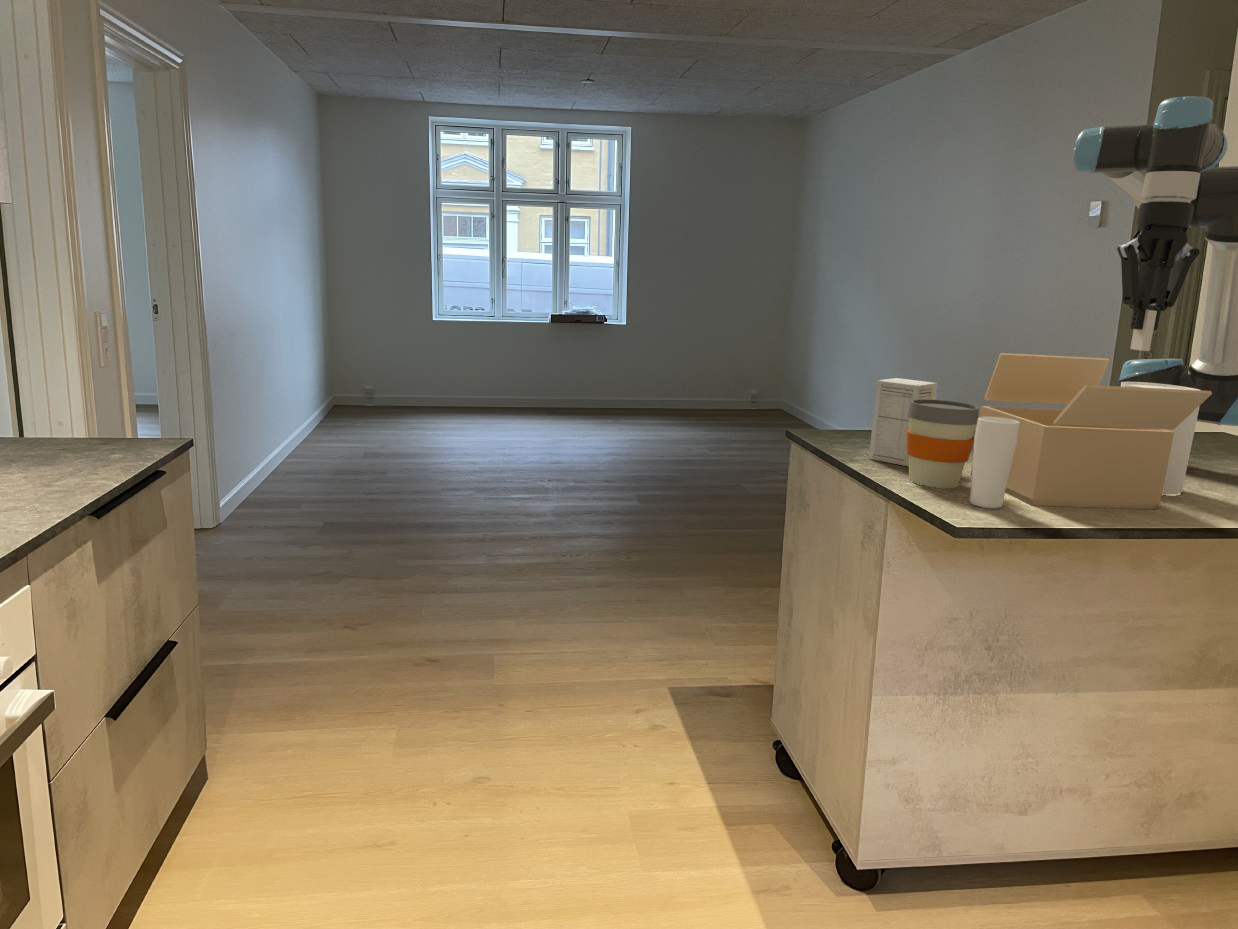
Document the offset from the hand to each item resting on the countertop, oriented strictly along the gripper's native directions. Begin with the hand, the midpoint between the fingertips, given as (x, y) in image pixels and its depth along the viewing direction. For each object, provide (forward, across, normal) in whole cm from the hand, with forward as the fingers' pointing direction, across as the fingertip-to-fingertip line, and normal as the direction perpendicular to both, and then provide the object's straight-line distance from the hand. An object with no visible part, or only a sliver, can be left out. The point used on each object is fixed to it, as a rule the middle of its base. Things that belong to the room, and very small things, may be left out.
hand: (1139, 349), depth 146 cm
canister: (+29, -21, -20) cm, 41 cm away
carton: (+28, 0, -14) cm, 32 cm away
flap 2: (+9, 0, +1) cm, 9 cm away
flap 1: (+9, 0, -24) cm, 26 cm away
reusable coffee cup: (+28, +23, -18) cm, 41 cm away
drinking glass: (+28, +21, -2) cm, 35 cm away
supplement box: (+28, +22, -37) cm, 52 cm away
